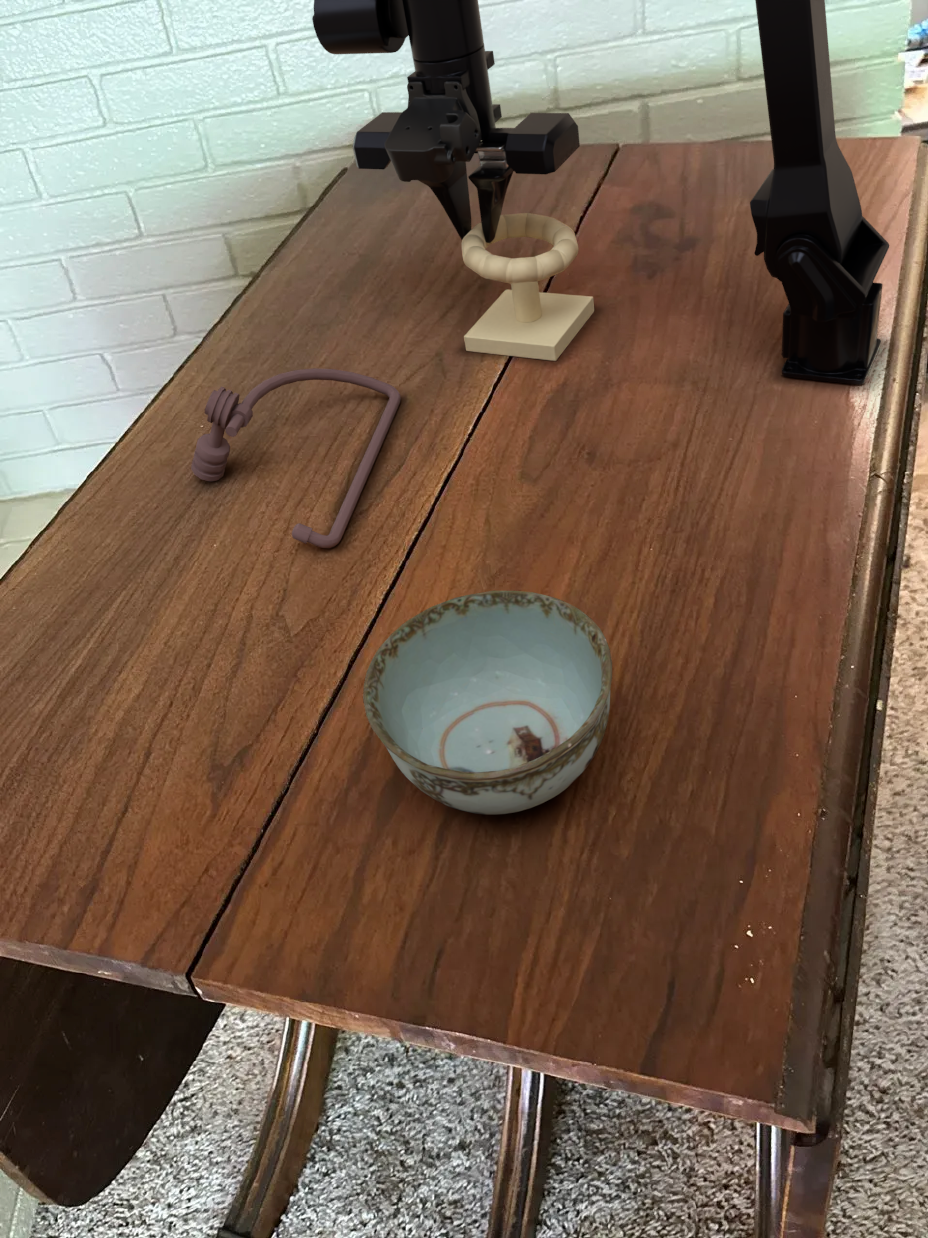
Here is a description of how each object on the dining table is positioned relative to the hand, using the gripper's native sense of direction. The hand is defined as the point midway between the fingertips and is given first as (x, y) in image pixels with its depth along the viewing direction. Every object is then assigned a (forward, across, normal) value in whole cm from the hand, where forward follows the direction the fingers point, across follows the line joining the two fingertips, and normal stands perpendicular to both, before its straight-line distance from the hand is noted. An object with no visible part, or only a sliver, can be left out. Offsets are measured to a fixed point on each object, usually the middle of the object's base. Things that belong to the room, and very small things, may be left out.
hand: (478, 240), depth 96 cm
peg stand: (+9, +4, 0) cm, 9 cm away
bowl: (+9, +24, -47) cm, 53 cm away
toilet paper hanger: (+9, -7, -25) cm, 27 cm away
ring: (0, +4, 0) cm, 4 cm away
